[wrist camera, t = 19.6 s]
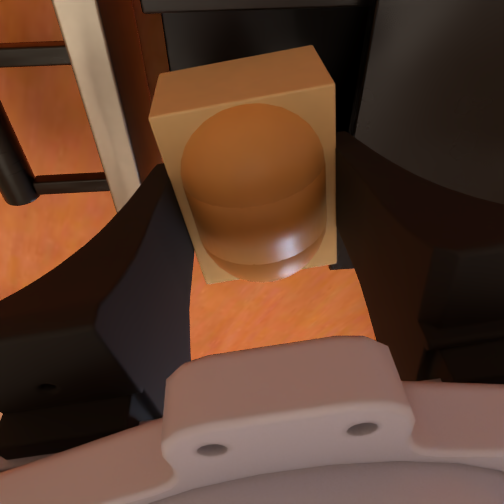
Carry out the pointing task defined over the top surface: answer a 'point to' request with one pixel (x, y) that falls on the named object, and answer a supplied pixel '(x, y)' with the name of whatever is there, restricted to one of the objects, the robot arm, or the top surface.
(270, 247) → the tan domed block
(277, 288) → the top surface
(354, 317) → the top surface
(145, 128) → the drawer
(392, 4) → the warmer
